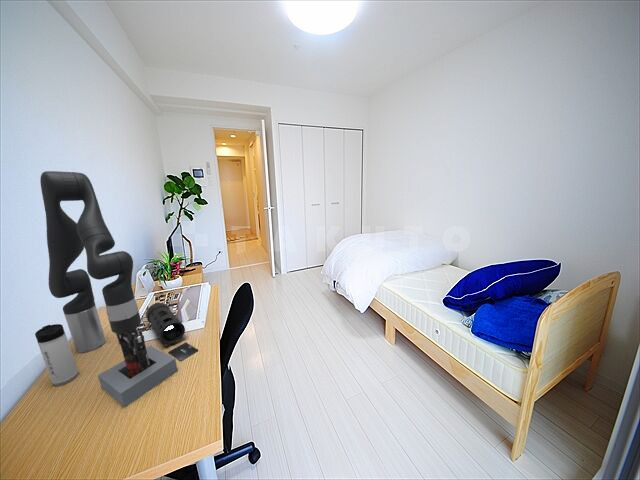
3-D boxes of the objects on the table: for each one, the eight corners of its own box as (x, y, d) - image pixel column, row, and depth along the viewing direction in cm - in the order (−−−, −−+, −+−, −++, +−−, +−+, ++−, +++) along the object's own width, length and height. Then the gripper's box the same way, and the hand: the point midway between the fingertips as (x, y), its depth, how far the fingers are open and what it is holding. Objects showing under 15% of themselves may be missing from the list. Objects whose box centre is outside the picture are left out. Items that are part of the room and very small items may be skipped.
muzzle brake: (162, 351, 96) (157, 328, 93) (147, 325, 115) (142, 305, 113) (188, 339, 102) (183, 317, 100) (169, 317, 122) (165, 298, 119)
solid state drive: (186, 343, 100) (185, 342, 100) (198, 351, 95) (198, 350, 94) (168, 353, 95) (167, 351, 94) (180, 362, 89) (180, 361, 89)
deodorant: (129, 375, 82) (118, 336, 78) (149, 365, 86) (140, 328, 82) (131, 385, 78) (120, 344, 74) (153, 374, 82) (143, 335, 78)
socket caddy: (101, 388, 79) (97, 375, 78) (153, 357, 92) (150, 345, 91) (124, 407, 71) (120, 393, 70) (177, 370, 84) (175, 358, 83)
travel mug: (75, 369, 88) (58, 320, 83) (81, 376, 84) (64, 325, 80) (50, 381, 83) (31, 330, 78) (56, 389, 79) (36, 336, 75)
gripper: (99, 314, 76) (112, 359, 80) (120, 325, 69) (133, 374, 73) (126, 304, 83) (137, 346, 86) (148, 313, 76) (159, 358, 80)
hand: (135, 358), depth 80 cm, fingers closed on deodorant, 6 cm apart
